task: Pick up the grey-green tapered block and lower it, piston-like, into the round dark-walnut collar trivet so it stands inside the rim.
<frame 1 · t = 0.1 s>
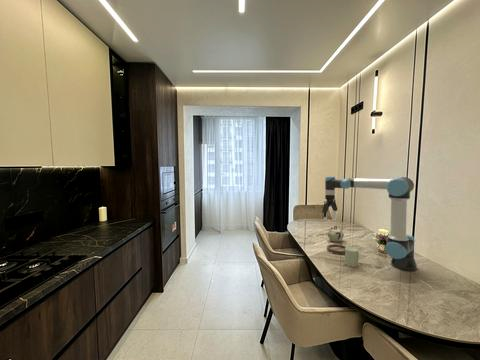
hand: (329, 219, 189), 28 cm above the table, fingers open, 13 cm apart
grey-green tapered block: (351, 264, 166), on the table
trivet: (337, 250, 193), on the table
sugar bowl: (335, 240, 218), on the table
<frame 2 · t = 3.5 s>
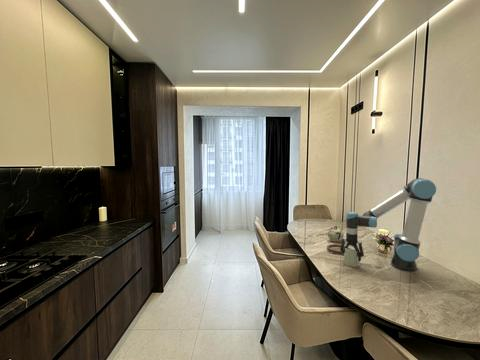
hand: (351, 262, 166), 1 cm above the table, fingers closed on grey-green tapered block, 9 cm apart
grey-green tapered block: (351, 264, 166), on the table, touching gripper
everything else where it was.
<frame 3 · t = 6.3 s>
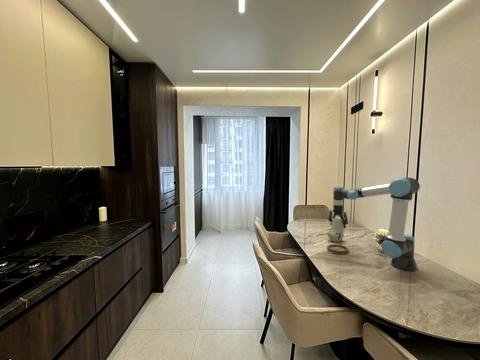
hand: (337, 230, 191), 18 cm above the table, fingers closed on grey-green tapered block, 9 cm apart
grey-green tapered block: (337, 232, 191), point 17 cm above the table, touching gripper
everything else where it was.
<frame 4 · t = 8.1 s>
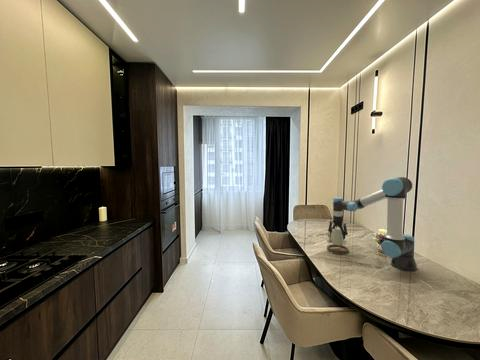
hand: (337, 241, 193), 8 cm above the table, fingers closed on grey-green tapered block, 9 cm apart
grey-green tapered block: (337, 242, 193), point 7 cm above the table, touching gripper
everything else where it was.
when the fingers open (3 cm above the table, at t = 9.5 s): grey-green tapered block drops 1 cm, resting on trivet.
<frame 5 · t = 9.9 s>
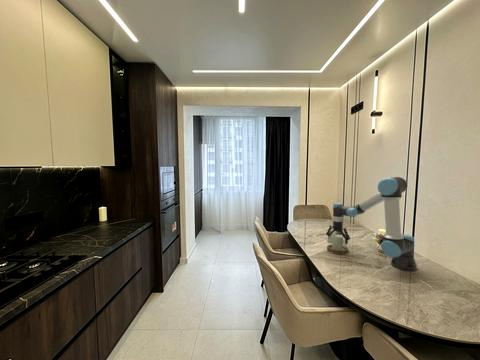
hand: (337, 245, 193), 5 cm above the table, fingers open, 13 cm apart
grey-green tapered block: (337, 249, 193), point 1 cm above the table, touching trivet
everything else where it was.
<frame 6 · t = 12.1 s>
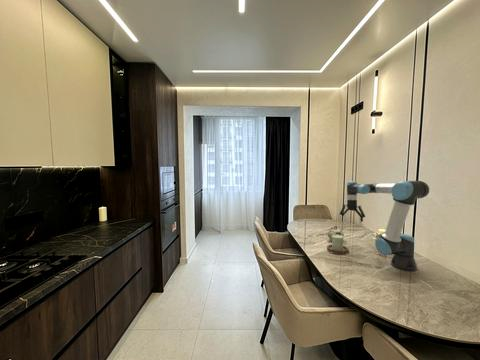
hand: (352, 224, 191), 23 cm above the table, fingers open, 13 cm apart
nothing on the table moved.
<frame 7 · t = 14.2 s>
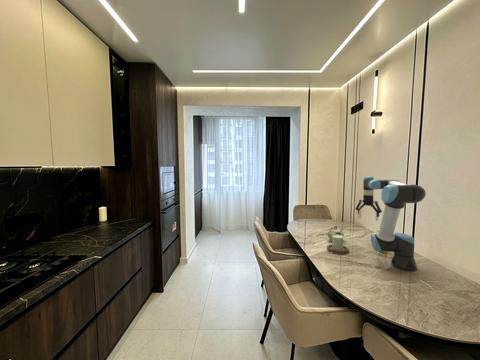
hand: (367, 219, 192), 27 cm above the table, fingers open, 13 cm apart
nothing on the table moved.
at the end: grey-green tapered block 0.1 cm from the trivet (horizontally); grey-green tapered block tilted 0°; grey-green tapered block touching trivet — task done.
